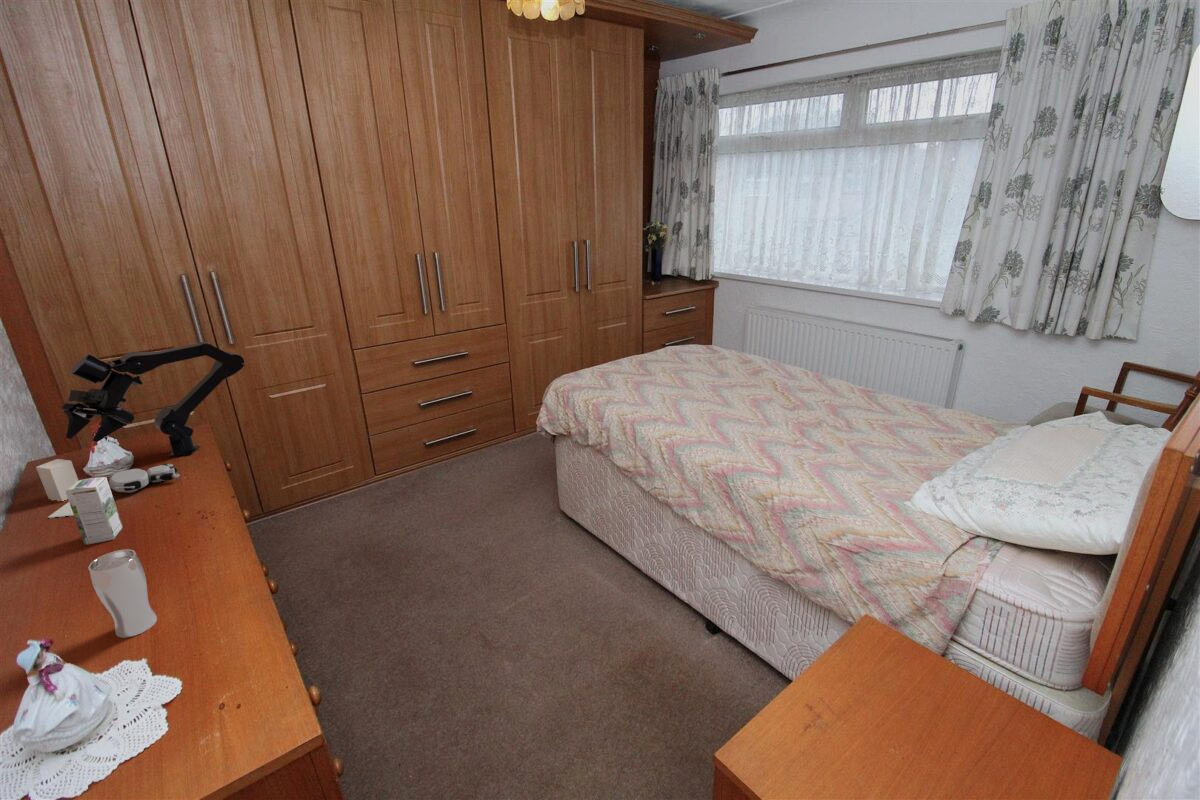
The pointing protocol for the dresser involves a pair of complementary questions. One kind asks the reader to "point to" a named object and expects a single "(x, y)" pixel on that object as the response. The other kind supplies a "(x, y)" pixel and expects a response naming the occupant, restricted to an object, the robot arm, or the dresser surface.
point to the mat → (63, 511)
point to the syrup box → (94, 510)
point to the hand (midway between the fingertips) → (81, 439)
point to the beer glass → (123, 591)
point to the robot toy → (141, 477)
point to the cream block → (57, 478)
